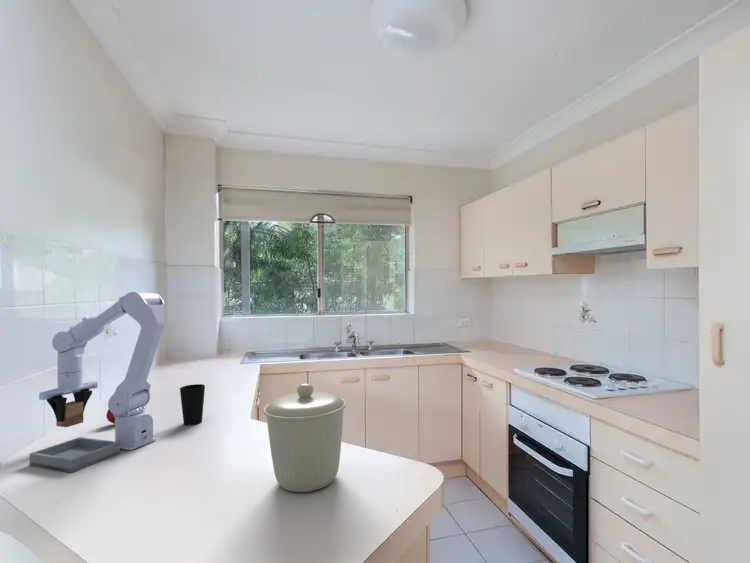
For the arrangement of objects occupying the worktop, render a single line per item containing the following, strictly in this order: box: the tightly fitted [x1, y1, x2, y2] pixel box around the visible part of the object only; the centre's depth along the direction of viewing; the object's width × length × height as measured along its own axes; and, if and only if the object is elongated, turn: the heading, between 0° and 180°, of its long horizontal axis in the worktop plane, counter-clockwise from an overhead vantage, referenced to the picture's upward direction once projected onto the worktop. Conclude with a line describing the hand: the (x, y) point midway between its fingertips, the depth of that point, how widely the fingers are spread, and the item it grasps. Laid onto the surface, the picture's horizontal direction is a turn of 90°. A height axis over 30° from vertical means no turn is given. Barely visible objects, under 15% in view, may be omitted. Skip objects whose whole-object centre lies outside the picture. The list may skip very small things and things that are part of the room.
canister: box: [262, 383, 347, 493], centre depth 83 cm, size 18×18×21 cm
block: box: [55, 400, 84, 428], centre depth 111 cm, size 4×4×6 cm
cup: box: [179, 383, 206, 426], centre depth 127 cm, size 8×8×12 cm
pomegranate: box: [105, 409, 115, 425], centre depth 128 cm, size 6×6×8 cm
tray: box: [29, 436, 121, 474], centre depth 99 cm, size 16×12×3 cm
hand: (70, 418), depth 111 cm, fingers closed on block, 4 cm apart
